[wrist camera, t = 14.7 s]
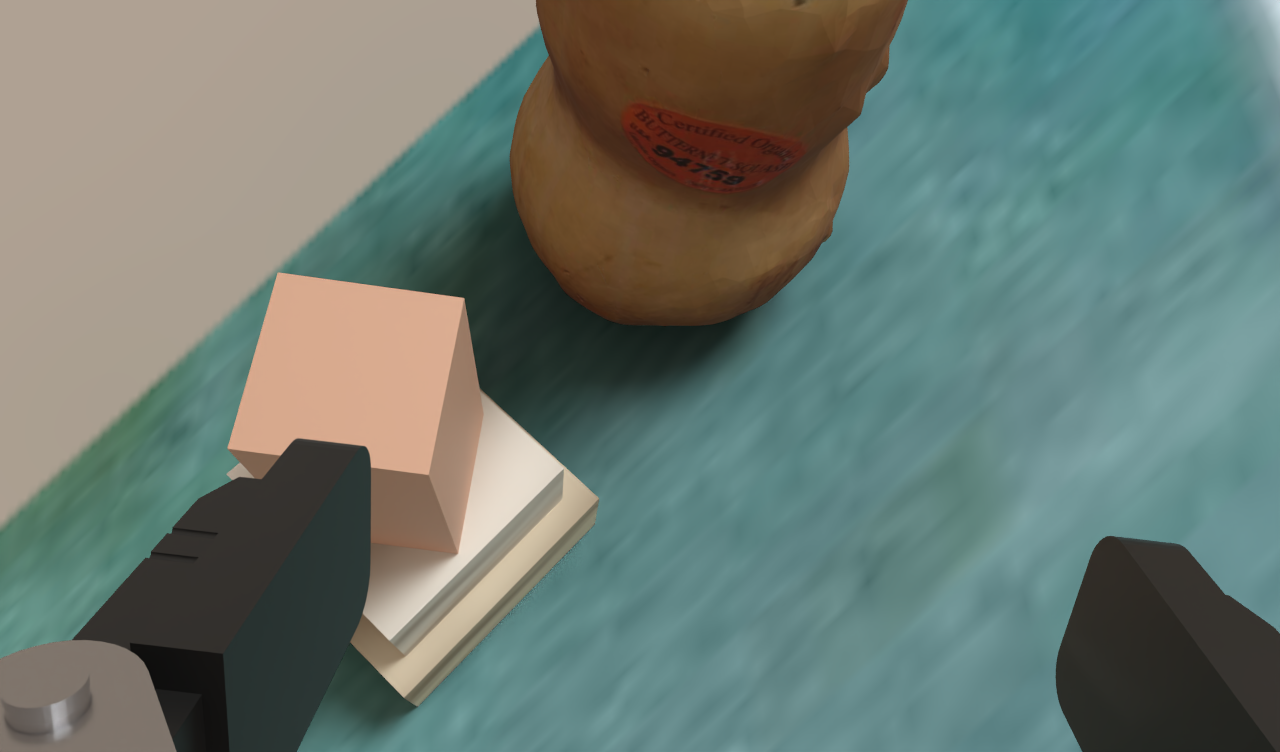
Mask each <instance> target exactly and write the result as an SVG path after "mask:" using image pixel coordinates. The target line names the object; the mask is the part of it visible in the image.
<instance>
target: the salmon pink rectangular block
mask: <svg viewBox="0 0 1280 752" xmlns="http://www.w3.org/2000/svg"><path fill="white" fill-rule="evenodd" d="M483 416H484V413H483V407H482V401H481V395H480V389H479V383H478V377H477V371H476V365H475V359H474V353H473V347H472V341H471V335H470V329H469V323H468V317H467V311H466V305H465V299H464V298H460V297H453V296H446V295H438V294H431V293H424V292H416V291H409V290H402V289H395V288H387V287H380V286H373V285H365V284H358V283H351V282H343V281H336V280H329V279H322V278H314V277H307V276H300V275H292V274H285V273H278V274H277V278H276V281H275V285H274V288H273V292H272V295H271V299H270V302H269V306H268V309H267V312H266V316H265V319H264V323H263V326H262V330H261V333H260V337H259V340H258V344H257V347H256V351H255V354H254V358H253V361H252V365H251V368H250V372H249V375H248V379H247V382H246V386H245V389H244V393H243V396H242V400H241V403H240V407H239V410H238V414H237V417H236V421H235V424H234V428H233V431H232V435H231V438H230V442H229V445H228V450H229V451H230V452H231V453H232V454H233V455H234V456H235V457H236V458H237V459H238V461H239V462H240V463H241V464H242V465H243V466H244V467H245V468H246V469H247V470H248V471H249V472H250V473H251V475H252V476H253V477H254V478H255V479H262V478H263V477H264V476H265V475H266V473H267V472H268V471H269V470H270V468H271V467H272V466H273V465H274V463H275V462H276V461H277V460H278V458H279V457H280V456H281V455H282V453H283V452H284V451H285V450H286V449H287V447H288V446H289V445H290V444H291V443H292V441H293V440H295V439H297V438H302V439H310V440H319V441H327V442H335V443H344V444H352V445H361V446H365V447H367V449H368V451H369V454H370V460H371V543H376V544H384V545H392V546H400V547H408V548H416V549H423V550H431V551H439V552H447V553H455V554H458V552H459V547H460V541H461V536H462V530H463V525H464V519H465V514H466V509H467V503H468V498H469V492H470V487H471V481H472V476H473V470H474V465H475V459H476V454H477V448H478V443H479V438H480V432H481V427H482V421H483Z"/></svg>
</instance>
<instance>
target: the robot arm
mask: <svg viewBox="0 0 1280 752" xmlns="http://www.w3.org/2000/svg"><path fill="white" fill-rule="evenodd" d="M370 566H371V460H370V454H369V451H368V449H367V447H365V446H361V445H352V444H344V443H335V442H327V441H319V440H310V439H302V438H297V439H295V440H293V441H292V443H291V444H290V445H289V446H288V447H287V449H286V450H285V451H284V452H283V453H282V455H281V456H280V457H279V458H278V460H277V461H276V462H275V463H274V465H273V466H272V467H271V468H270V470H269V471H268V472H267V473H266V475H265V476H264V477H263V478H262V479H255V478H247V477H238V478H236V479H234V480H232V481H231V482H229V483H227V484H225V485H223V486H221V487H219V488H218V489H216V490H214V491H212V492H210V493H208V494H206V495H205V496H203V497H201V498H199V499H198V500H197V501H196V502H195V503H194V504H193V505H192V506H191V508H190V509H189V510H188V511H187V512H186V513H185V514H184V515H183V516H182V518H181V519H180V520H179V521H178V522H177V523H176V524H175V525H174V527H173V529H172V533H171V534H169V533H167V534H166V535H165V537H164V538H163V539H162V540H161V541H160V542H159V543H158V544H157V546H156V547H155V548H154V549H153V550H152V551H151V556H150V558H145V559H144V560H143V561H142V562H141V563H140V565H139V566H138V567H137V568H136V569H135V570H134V571H133V572H132V573H131V575H130V576H129V577H128V578H127V579H126V580H125V581H124V582H123V584H122V585H121V586H120V587H119V588H118V589H117V590H116V591H115V592H114V594H113V595H112V596H111V597H110V598H109V599H108V600H107V601H106V603H105V604H104V605H103V606H102V607H101V608H100V609H99V610H98V611H97V613H96V614H95V615H94V616H93V617H92V618H91V619H90V620H89V622H88V623H87V624H86V625H85V626H84V627H83V628H82V629H81V630H80V632H79V633H78V634H77V635H76V636H75V637H74V638H73V639H72V640H70V641H61V642H53V643H48V644H43V645H39V646H35V647H31V648H28V649H25V650H21V651H18V652H16V653H13V654H11V655H8V656H6V657H3V658H1V659H0V752H297V750H298V748H299V746H300V744H301V741H302V739H303V737H304V735H305V733H306V731H307V729H308V727H309V725H310V723H311V721H312V719H313V717H314V715H315V713H316V711H317V709H318V707H319V705H320V703H321V701H322V698H323V696H324V694H325V692H326V690H327V688H328V686H329V684H330V682H331V680H332V678H333V676H334V674H335V672H336V670H337V668H338V666H339V664H340V662H341V660H342V658H343V655H344V653H345V651H346V649H347V647H348V645H349V643H350V641H351V639H352V637H353V635H354V633H355V631H356V629H357V627H358V624H359V622H360V619H361V617H362V613H363V610H364V606H365V603H366V598H367V593H368V587H369V580H370ZM1056 688H1057V695H1058V700H1059V703H1060V706H1061V709H1062V711H1063V713H1064V715H1065V717H1066V719H1067V722H1068V724H1069V726H1070V728H1071V730H1072V732H1073V734H1074V736H1075V738H1076V740H1077V742H1078V744H1079V746H1080V748H1081V750H1082V752H1280V633H1279V632H1278V631H1277V630H1276V629H1275V628H1274V627H1273V626H1271V625H1270V624H1268V623H1267V622H1266V621H1264V620H1263V619H1261V618H1260V617H1259V616H1257V615H1256V614H1254V613H1253V612H1251V611H1250V610H1249V609H1247V608H1246V607H1244V606H1243V605H1242V604H1240V603H1239V602H1237V601H1236V600H1235V599H1233V598H1232V597H1230V596H1229V595H1225V594H1224V593H1223V591H1222V590H1221V589H1220V588H1219V587H1218V586H1217V584H1216V583H1215V582H1214V581H1213V580H1212V578H1211V577H1210V576H1209V575H1208V574H1207V572H1206V571H1205V570H1204V569H1203V568H1202V566H1201V565H1200V564H1199V563H1198V562H1197V561H1196V559H1195V558H1194V557H1193V556H1192V555H1191V553H1190V552H1189V551H1188V550H1187V549H1186V548H1185V547H1183V546H1181V545H1179V544H1174V543H1166V542H1157V541H1149V540H1140V539H1132V538H1123V537H1115V536H1107V537H1105V538H1103V539H1102V540H1101V541H1099V543H1098V544H1097V545H1096V547H1095V548H1094V550H1093V552H1092V555H1091V557H1090V560H1089V563H1088V566H1087V569H1086V572H1085V575H1084V578H1083V581H1082V584H1081V587H1080V590H1079V593H1078V596H1077V599H1076V601H1075V604H1074V607H1073V610H1072V613H1071V616H1070V619H1069V622H1068V625H1067V628H1066V631H1065V634H1064V637H1063V640H1062V643H1061V646H1060V649H1059V652H1058V657H1057V664H1056Z"/></svg>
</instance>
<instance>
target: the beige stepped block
mask: <svg viewBox="0 0 1280 752" xmlns="http://www.w3.org/2000/svg"><path fill="white" fill-rule="evenodd" d="M479 389H480V388H479ZM480 395H481V401H482V407H483V413H484V416H483V421H482V427H481V432H480V438H479V443H478V448H477V454H476V459H475V465H474V470H473V476H472V481H471V487H470V492H469V498H468V503H467V509H466V514H465V519H464V525H463V530H462V536H461V541H460V547H459V552H458V554H455V553H447V552H439V551H431V550H423V549H416V548H408V547H400V546H392V545H384V544H376V543H371V566H370V580H369V587H368V593H367V598H366V603H365V606H364V610H363V613H362V617H361V619H360V622H359V624H358V627H357V629H356V631H355V633H354V635H353V637H352V639H351V641H350V643H351V644H352V645H353V646H354V647H355V648H356V649H357V650H358V651H359V652H360V653H361V654H362V655H363V656H364V657H365V658H366V659H367V660H368V661H369V662H370V663H371V664H372V665H373V666H374V667H375V668H376V669H377V671H378V672H379V673H380V674H381V675H382V676H383V677H384V678H385V679H386V680H387V681H388V682H389V683H390V684H391V685H392V686H393V687H394V688H395V689H396V690H397V691H398V692H399V693H400V694H401V695H402V696H403V697H404V698H405V699H406V700H408V701H409V702H411V703H412V704H414V705H415V706H417V707H418V706H419V705H420V704H421V703H422V702H423V701H424V700H425V699H426V698H427V697H428V696H429V695H430V694H431V692H432V691H433V690H434V689H435V688H436V687H437V686H438V685H439V684H440V683H441V682H442V681H443V680H444V679H445V678H446V677H447V676H448V675H449V674H450V673H451V672H452V671H453V670H454V669H455V668H456V667H457V666H458V665H459V664H460V663H461V662H462V661H463V659H464V658H465V657H466V656H467V655H468V654H469V653H470V652H471V651H472V650H473V649H474V648H475V647H476V646H477V645H478V644H479V643H480V642H481V641H482V640H483V639H484V638H485V637H486V636H487V635H488V634H489V633H490V632H491V631H492V630H493V629H494V628H495V626H496V625H497V624H498V623H499V622H500V621H501V620H502V619H503V618H504V617H505V616H506V615H507V614H508V613H509V612H510V611H511V610H512V609H513V608H514V607H515V606H516V605H517V604H518V603H519V602H520V601H521V600H522V599H523V598H524V597H525V596H526V595H527V593H528V592H529V591H530V590H531V589H532V588H533V587H534V586H535V585H536V584H537V583H538V582H539V581H540V580H541V579H542V578H543V577H544V576H545V575H546V574H547V573H548V572H549V571H550V570H551V569H552V568H553V567H554V566H555V565H556V564H557V563H558V562H559V560H560V559H561V558H562V557H563V556H564V555H565V554H566V553H567V552H568V551H569V550H570V549H571V548H572V547H573V546H574V545H575V544H576V543H577V542H578V541H579V540H580V539H581V538H582V537H583V536H584V535H585V534H586V533H587V532H588V531H589V530H590V529H591V527H592V526H593V525H594V524H595V520H596V514H597V508H598V503H599V498H598V497H597V496H596V495H595V494H594V493H593V492H592V491H590V490H589V489H588V488H587V487H586V486H585V485H584V484H583V483H582V482H581V481H580V480H579V479H577V478H576V477H575V476H574V475H573V474H572V473H571V472H570V471H569V470H568V469H567V468H566V467H564V466H563V465H562V464H561V463H560V462H559V461H558V460H557V459H556V458H555V457H554V456H553V455H551V454H550V453H549V452H548V451H547V450H546V449H545V448H544V447H543V446H542V445H541V444H540V443H538V442H537V441H536V440H535V439H534V438H533V437H532V436H531V435H530V434H529V433H528V432H527V431H526V430H524V429H523V428H522V427H521V426H520V425H519V424H518V423H517V422H516V421H515V420H514V419H513V418H511V417H510V416H509V415H508V414H507V413H506V412H505V411H504V410H503V409H502V408H501V407H500V406H498V405H497V404H496V403H495V402H494V401H493V400H492V399H491V398H490V397H489V396H488V395H487V394H485V393H484V392H483V391H482V390H481V389H480ZM227 475H228V476H229V477H230V478H231V479H232V480H234V479H236V478H238V477H247V478H254V477H253V476H252V475H251V473H250V472H249V471H248V470H247V469H246V468H245V467H244V466H243V465H242V464H241V463H239V464H238V465H237V466H235V467H234V468H233V469H232V470H231V471H230V472H228V473H227Z"/></svg>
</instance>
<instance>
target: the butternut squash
mask: <svg viewBox="0 0 1280 752" xmlns="http://www.w3.org/2000/svg"><path fill="white" fill-rule="evenodd" d="M907 1H908V0H536V7H537V14H538V18H539V22H540V27H541V30H542V34H543V38H544V42H545V46H546V49H547V51H548V54H549V56H548V58H547V59H546V61H545V62H544V64H543V65H542V67H541V68H540V70H539V71H538V73H537V75H536V76H535V78H534V80H533V82H532V83H531V85H530V87H529V89H528V90H527V92H526V94H525V96H524V98H523V101H522V104H521V106H520V109H519V112H518V115H517V119H516V123H515V127H514V134H513V140H512V145H511V151H510V169H511V179H512V188H513V194H514V199H515V203H516V207H517V210H518V213H519V215H520V218H521V220H522V223H523V225H524V227H525V230H526V232H527V235H528V237H529V240H530V243H531V245H532V247H533V249H534V250H535V252H536V253H537V255H538V256H539V258H540V259H541V261H542V262H543V263H544V265H545V266H546V267H547V268H548V269H549V271H550V272H551V273H552V274H553V276H554V277H555V278H556V280H557V282H558V283H559V285H560V286H561V288H562V290H563V291H564V292H565V293H566V294H567V295H569V296H570V297H571V298H572V299H574V300H575V301H577V302H578V303H579V304H581V305H582V306H584V307H585V308H587V309H588V310H590V311H592V312H594V313H595V314H597V315H599V316H601V317H603V318H604V319H606V320H609V321H612V322H615V323H618V324H623V325H658V326H699V325H711V324H716V323H720V322H723V321H727V320H729V319H731V318H734V317H736V316H738V315H740V314H743V313H745V312H748V311H750V310H753V309H755V308H758V307H760V306H761V305H763V304H765V303H766V302H768V301H769V300H770V299H771V298H772V297H773V296H775V295H776V294H777V293H778V292H779V291H780V290H781V289H782V288H783V287H785V286H786V285H787V284H788V283H789V282H790V281H791V280H792V279H793V278H794V277H795V276H796V275H797V274H798V273H799V272H800V271H801V270H802V269H803V268H804V267H805V266H806V265H807V264H808V263H809V261H810V260H811V259H812V258H813V257H814V255H815V253H816V252H817V250H818V249H819V247H820V245H821V244H822V242H825V241H826V240H827V239H828V238H829V237H830V236H831V233H832V226H833V218H834V216H835V214H836V211H837V209H838V207H839V203H840V200H841V197H842V194H843V191H844V188H845V184H846V180H847V176H848V172H849V145H848V131H847V127H848V126H849V125H850V124H851V123H852V122H853V121H854V120H855V119H857V118H858V117H859V116H860V114H861V112H862V108H863V104H864V99H865V95H866V93H867V92H868V91H870V90H871V89H872V88H873V87H874V86H875V85H877V84H878V83H879V82H880V81H881V79H882V78H883V77H884V75H885V74H886V71H887V69H888V64H889V45H890V43H891V41H892V40H893V38H894V36H895V33H896V31H897V29H898V26H899V24H900V22H901V19H902V16H903V13H904V10H905V7H906V4H907Z"/></svg>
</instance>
